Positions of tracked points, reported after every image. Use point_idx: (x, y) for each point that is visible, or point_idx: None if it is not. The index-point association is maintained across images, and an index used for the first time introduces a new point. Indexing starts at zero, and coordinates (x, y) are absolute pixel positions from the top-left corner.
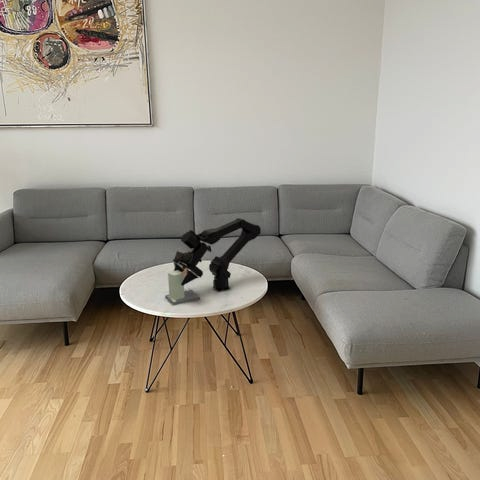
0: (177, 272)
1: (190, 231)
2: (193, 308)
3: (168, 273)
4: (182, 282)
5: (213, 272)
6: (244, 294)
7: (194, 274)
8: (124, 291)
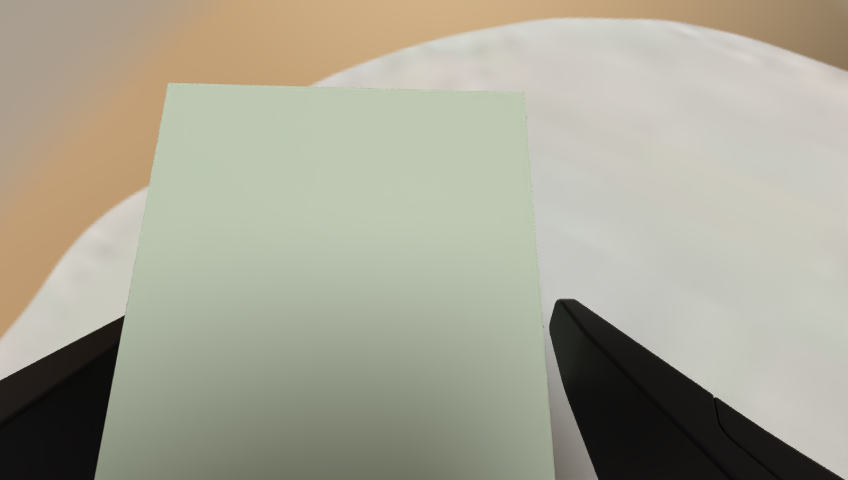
0: (320, 330)
1: None
2: None
3: (488, 106)
4: (119, 322)
5: None
6: None
7: None
8: (816, 62)
